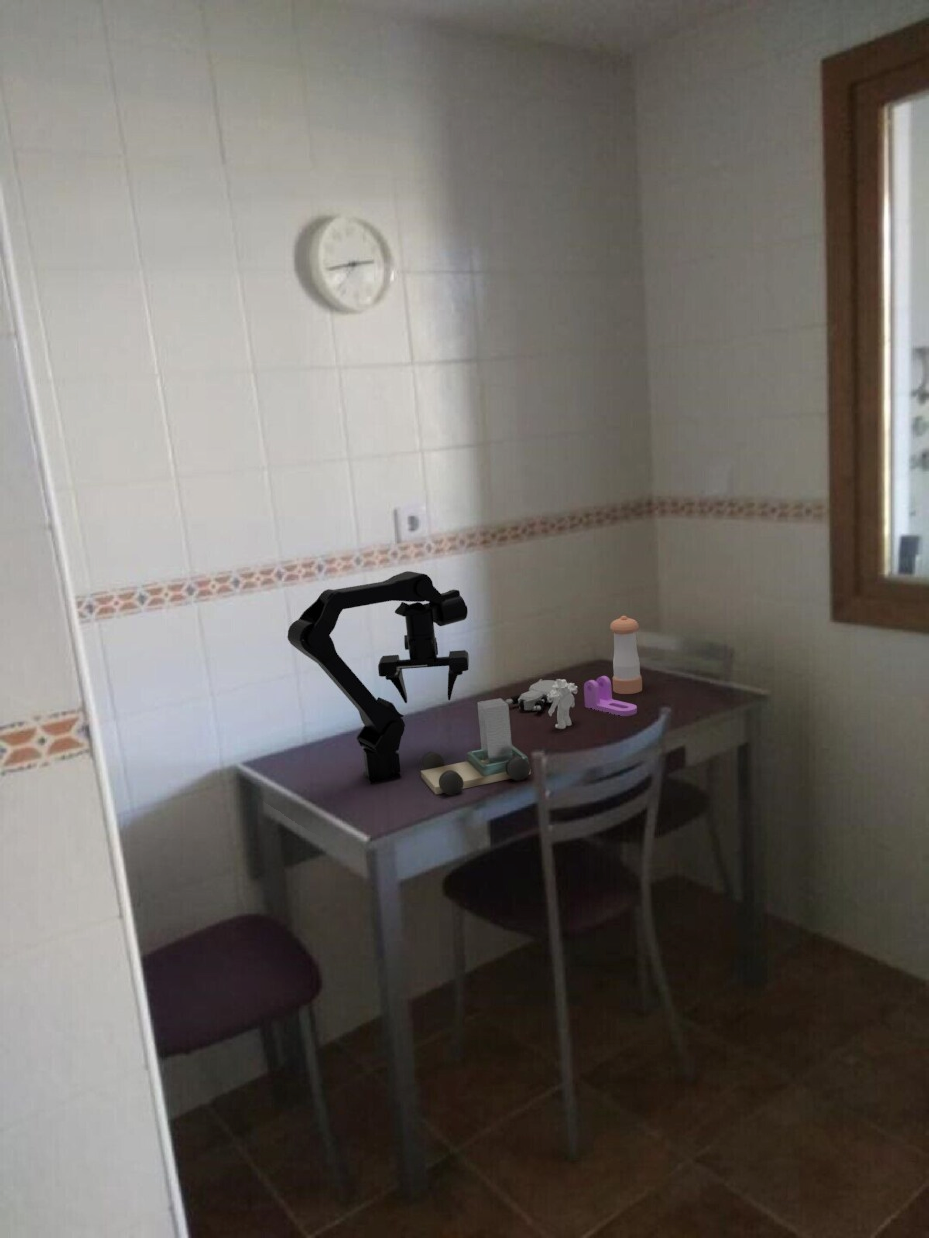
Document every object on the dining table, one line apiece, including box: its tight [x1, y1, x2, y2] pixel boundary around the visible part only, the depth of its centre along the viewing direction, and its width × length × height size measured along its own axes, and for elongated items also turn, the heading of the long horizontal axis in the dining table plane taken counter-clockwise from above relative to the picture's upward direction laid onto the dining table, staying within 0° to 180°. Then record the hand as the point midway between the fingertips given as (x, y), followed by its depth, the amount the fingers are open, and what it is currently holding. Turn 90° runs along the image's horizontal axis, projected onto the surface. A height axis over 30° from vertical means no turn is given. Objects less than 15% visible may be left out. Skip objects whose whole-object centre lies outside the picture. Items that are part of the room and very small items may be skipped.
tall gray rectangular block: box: [477, 697, 513, 765], centre depth 193 cm, size 5×5×13 cm
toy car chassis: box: [420, 744, 531, 796], centre depth 192 cm, size 20×14×4 cm
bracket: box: [583, 675, 638, 717], centre depth 226 cm, size 13×6×7 cm, turn 39°
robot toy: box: [505, 678, 578, 712], centre depth 234 cm, size 12×4×15 cm
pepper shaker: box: [609, 615, 643, 695], centre depth 238 cm, size 7×7×19 cm
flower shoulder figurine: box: [547, 678, 578, 730], centre depth 217 cm, size 9×4×12 cm, turn 134°
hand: (427, 701), depth 202 cm, fingers open, 9 cm apart
